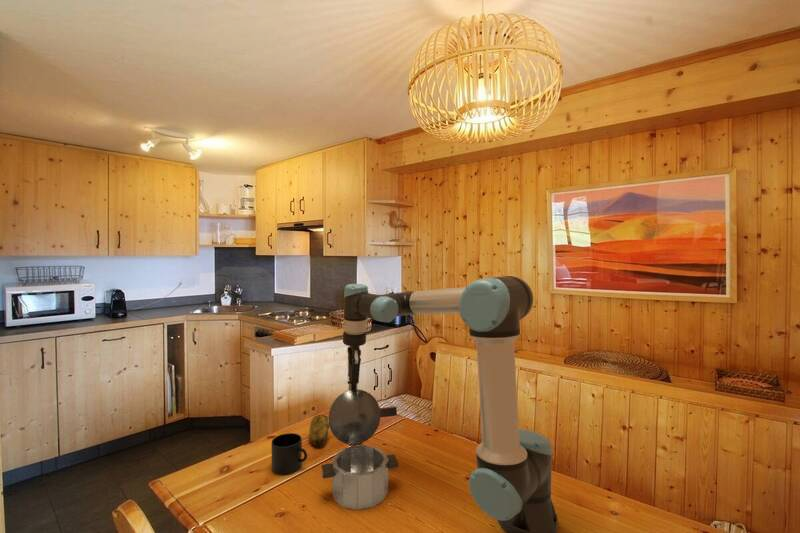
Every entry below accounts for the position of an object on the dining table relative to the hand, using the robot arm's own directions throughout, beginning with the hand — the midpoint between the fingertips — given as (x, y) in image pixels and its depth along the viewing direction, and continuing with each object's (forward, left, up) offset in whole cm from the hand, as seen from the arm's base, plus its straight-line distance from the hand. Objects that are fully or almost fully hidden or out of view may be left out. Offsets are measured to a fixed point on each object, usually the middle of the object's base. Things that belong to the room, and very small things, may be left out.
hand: (352, 400), depth 125 cm
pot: (-15, 0, -21) cm, 26 cm away
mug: (+3, +20, -21) cm, 29 cm away
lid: (-5, -3, -3) cm, 7 cm away
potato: (+19, +10, -21) cm, 30 cm away
